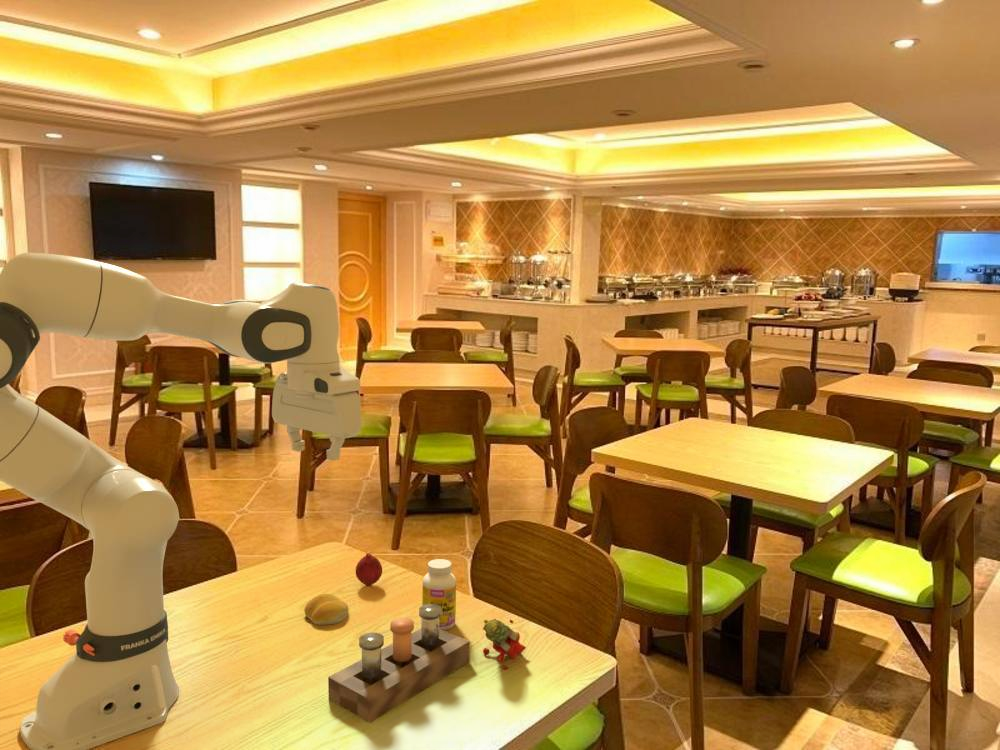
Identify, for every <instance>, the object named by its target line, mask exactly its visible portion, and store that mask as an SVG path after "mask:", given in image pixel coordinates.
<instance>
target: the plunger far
mask: <svg viewBox="0 0 1000 750" xmlns="http://www.w3.org/2000/svg"><path fill="white" fill-rule="evenodd" d="M441 615H442V608H441V607H440V606H439V605H436V604H426V605H423V606H422V605H421V606H420V607H419V609H418V616H419V617H420V618H421V621H420V622H421V623H420V629H421V643H422V644H423V645H426V646H433V645H436V644H438V643H439V617H440V616H441Z"/></svg>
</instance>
